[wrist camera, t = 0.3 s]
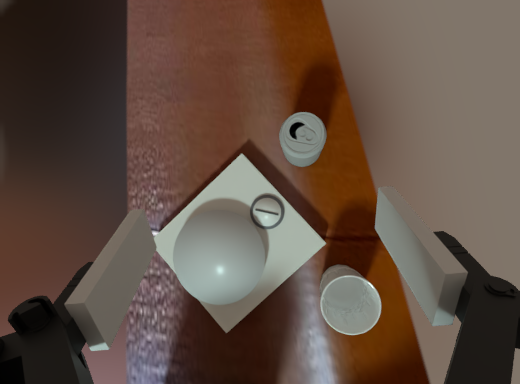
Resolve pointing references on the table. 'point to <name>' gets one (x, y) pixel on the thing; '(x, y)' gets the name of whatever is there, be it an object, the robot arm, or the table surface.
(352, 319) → the white cup
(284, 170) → the table surface
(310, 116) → the beverage can
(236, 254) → the kitchen scale
